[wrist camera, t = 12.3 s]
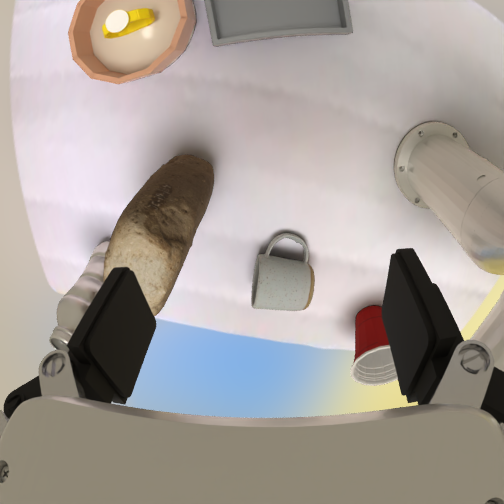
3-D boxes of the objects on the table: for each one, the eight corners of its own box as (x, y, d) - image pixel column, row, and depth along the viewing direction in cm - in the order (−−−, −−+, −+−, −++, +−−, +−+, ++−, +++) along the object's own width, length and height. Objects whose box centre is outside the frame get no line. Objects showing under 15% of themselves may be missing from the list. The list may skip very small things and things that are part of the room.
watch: (157, 7, 26) (141, -2, 21) (162, 26, 27) (147, 19, 22) (112, 26, 26) (90, 22, 22) (117, 44, 28) (96, 42, 23)
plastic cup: (361, 287, 49) (377, 343, 39) (407, 302, 50) (428, 354, 40) (329, 328, 55) (338, 383, 45) (375, 339, 56) (387, 389, 46)
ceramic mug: (301, 290, 49) (305, 324, 43) (251, 283, 49) (249, 318, 43) (318, 234, 44) (326, 266, 37) (261, 225, 43) (260, 257, 37)
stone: (176, 138, 36) (103, 211, 20) (227, 158, 38) (193, 247, 21) (152, 212, 43) (91, 312, 26) (197, 230, 44) (158, 339, 28)
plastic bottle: (102, 229, 45) (37, 320, 28) (139, 246, 46) (85, 345, 30) (96, 258, 48) (41, 347, 32) (131, 274, 50) (84, 369, 33)
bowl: (186, -38, 22) (175, -50, 19) (205, 61, 31) (196, 61, 27) (83, 1, 24) (63, -2, 20) (100, 92, 32) (81, 98, 28)
